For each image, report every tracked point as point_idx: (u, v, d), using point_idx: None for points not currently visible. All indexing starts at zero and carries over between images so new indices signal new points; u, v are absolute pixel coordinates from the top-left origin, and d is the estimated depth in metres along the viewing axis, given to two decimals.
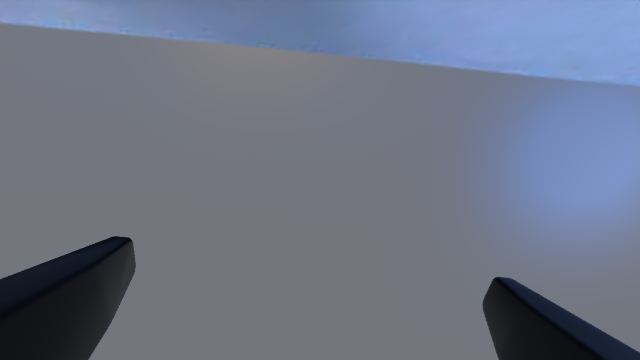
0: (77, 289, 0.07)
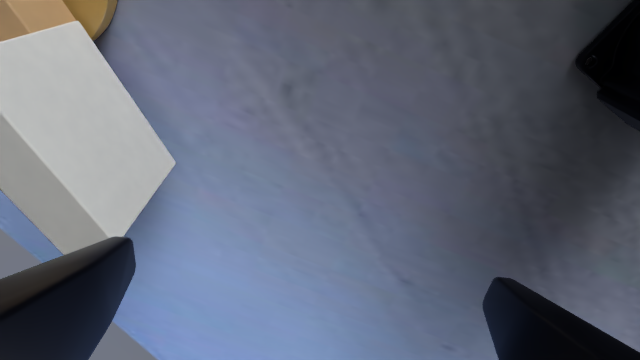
0: (77, 289, 0.07)
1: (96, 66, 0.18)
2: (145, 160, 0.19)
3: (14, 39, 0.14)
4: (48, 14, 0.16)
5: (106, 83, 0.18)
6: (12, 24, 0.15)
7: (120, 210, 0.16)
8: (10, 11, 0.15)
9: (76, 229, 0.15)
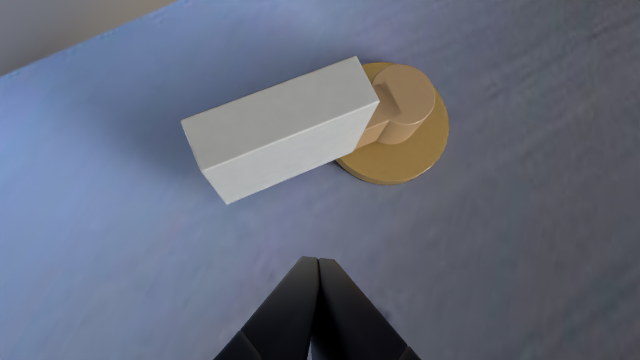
0: (315, 312, 0.08)
1: (324, 160, 0.22)
2: (246, 186, 0.20)
3: (366, 125, 0.19)
4: (364, 138, 0.22)
5: (310, 165, 0.22)
6: None
7: (225, 173, 0.17)
8: (376, 122, 0.21)
9: (222, 138, 0.16)
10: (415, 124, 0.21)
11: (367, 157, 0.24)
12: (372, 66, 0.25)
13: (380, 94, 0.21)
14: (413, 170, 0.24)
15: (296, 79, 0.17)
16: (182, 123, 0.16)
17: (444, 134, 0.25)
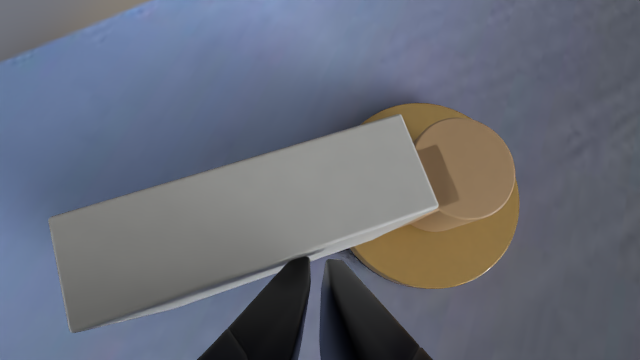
0: (304, 311, 0.07)
1: (328, 254, 0.14)
2: (196, 299, 0.12)
3: None
4: None
5: None
6: None
7: (137, 314, 0.09)
8: None
9: (124, 264, 0.08)
10: (480, 218, 0.13)
11: (399, 250, 0.16)
12: (405, 109, 0.17)
13: (427, 165, 0.13)
14: (468, 271, 0.16)
15: (285, 152, 0.09)
16: (51, 225, 0.08)
17: (513, 214, 0.17)
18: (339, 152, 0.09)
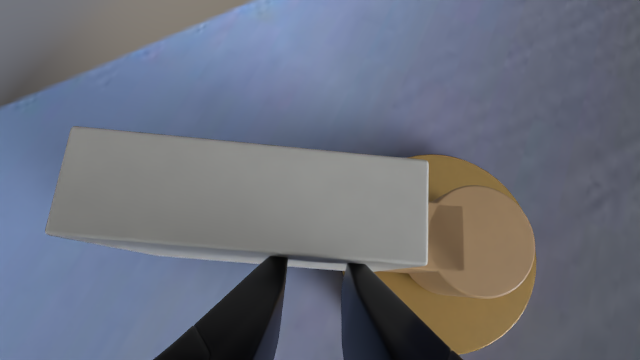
0: (277, 309, 0.07)
1: (316, 267, 0.14)
2: (178, 255, 0.13)
3: (394, 269, 0.11)
4: (389, 270, 0.14)
5: (293, 265, 0.14)
6: None
7: (112, 243, 0.09)
8: None
9: (116, 193, 0.08)
10: (476, 297, 0.12)
11: None
12: None
13: (444, 223, 0.13)
14: (482, 336, 0.15)
15: (301, 152, 0.09)
16: (71, 133, 0.09)
17: (530, 275, 0.16)
18: (352, 173, 0.09)
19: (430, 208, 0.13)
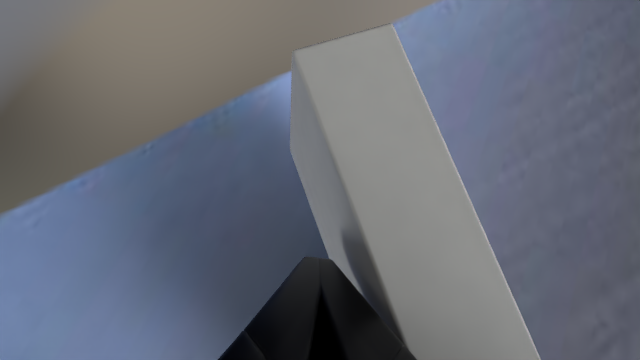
0: None
1: None
2: (303, 167, 0.13)
3: None
4: None
5: None
6: None
7: (301, 108, 0.10)
8: None
9: (353, 88, 0.08)
10: None
11: None
12: None
13: None
14: None
15: (482, 238, 0.08)
16: (385, 25, 0.09)
17: None
18: (491, 303, 0.08)
19: None
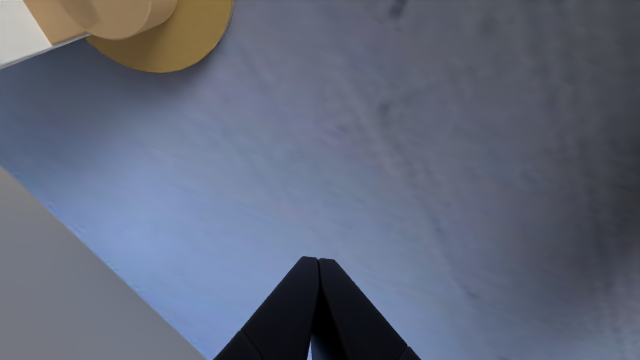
0: (315, 312, 0.08)
1: None
2: None
3: (33, 54, 0.15)
4: (84, 33, 0.17)
5: (28, 58, 0.18)
6: (55, 29, 0.15)
7: None
8: (68, 33, 0.15)
9: None
10: (127, 37, 0.15)
11: (200, 17, 0.18)
12: None
13: None
14: None
15: None
16: None
17: None
18: None
19: None
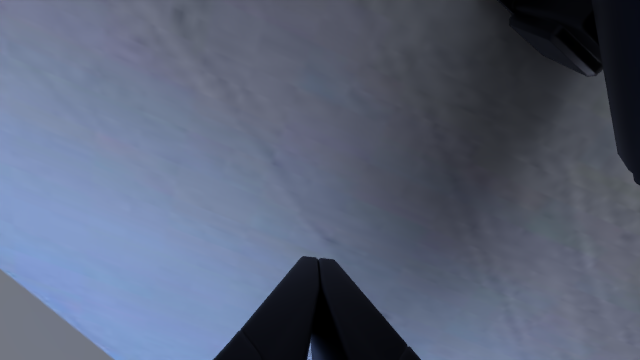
0: (315, 312, 0.08)
1: None
2: None
3: None
4: None
5: None
6: None
7: None
8: None
9: None
10: None
11: None
12: None
13: None
14: None
15: None
16: None
17: None
18: None
19: None
